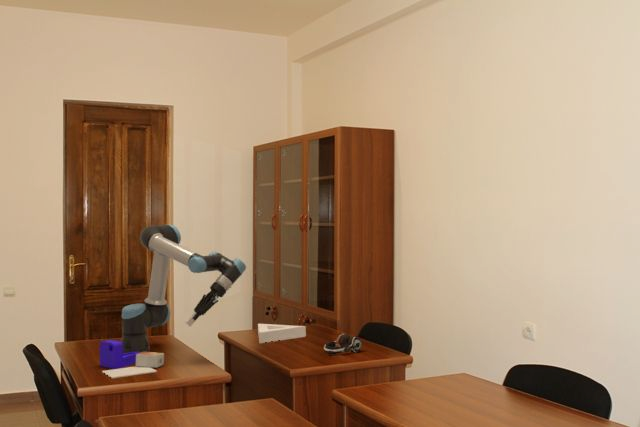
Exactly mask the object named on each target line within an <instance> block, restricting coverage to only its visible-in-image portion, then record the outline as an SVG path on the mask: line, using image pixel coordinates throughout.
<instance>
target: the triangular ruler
mask: <svg viewBox="0 0 640 427" xmlns="http://www.w3.org/2000/svg"><path fill="white" fill-rule="evenodd" d="M306 329H307V326H306V325H288V324H269V323H257V335H258V342H259V344H265V342H267V343H272V342H271V341H273V342H279V341H278V340H280V341H285V340H291V339H300V338H305V337H307V332H306V331H307V330H306Z"/></svg>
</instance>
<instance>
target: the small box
mask: <svg viewBox="0 0 640 427" xmlns="http://www.w3.org/2000/svg"><path fill="white" fill-rule="evenodd" d="M164 362H165V353H164V352H155V351H154V352H152V351H148V352H141V353H138V354H136V363H135V366H141V367H150V368H152V369H155V368H159V367H162V366H164V365H165V363H164Z"/></svg>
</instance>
